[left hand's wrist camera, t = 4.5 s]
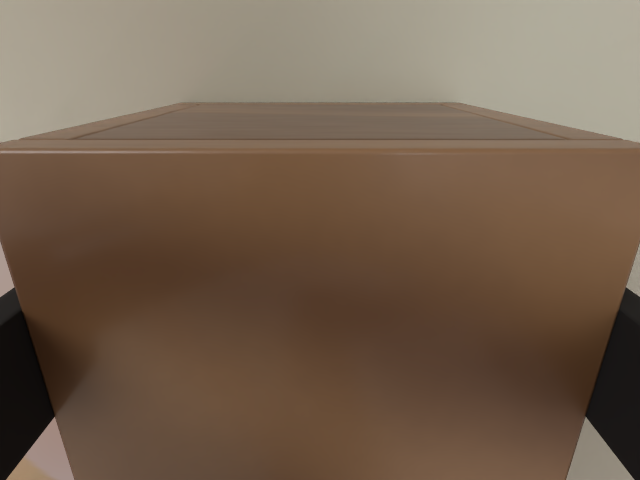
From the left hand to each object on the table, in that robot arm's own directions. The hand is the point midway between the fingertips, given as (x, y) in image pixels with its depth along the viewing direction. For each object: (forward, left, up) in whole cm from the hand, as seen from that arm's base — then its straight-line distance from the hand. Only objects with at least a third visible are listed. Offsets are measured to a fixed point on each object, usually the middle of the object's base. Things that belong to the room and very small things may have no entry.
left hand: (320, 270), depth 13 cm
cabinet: (+6, -2, -7) cm, 9 cm away
